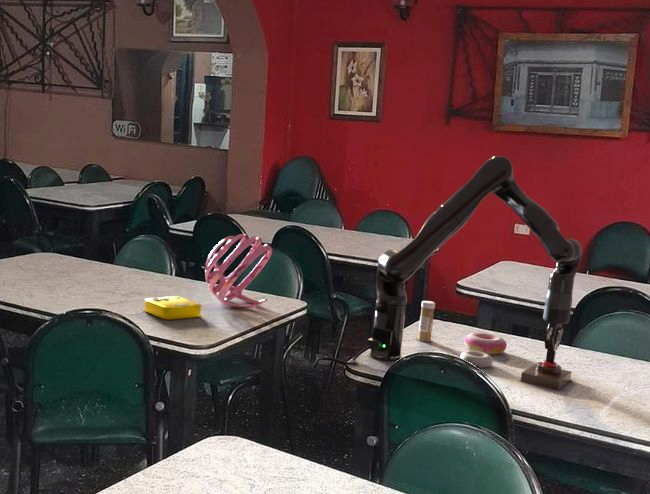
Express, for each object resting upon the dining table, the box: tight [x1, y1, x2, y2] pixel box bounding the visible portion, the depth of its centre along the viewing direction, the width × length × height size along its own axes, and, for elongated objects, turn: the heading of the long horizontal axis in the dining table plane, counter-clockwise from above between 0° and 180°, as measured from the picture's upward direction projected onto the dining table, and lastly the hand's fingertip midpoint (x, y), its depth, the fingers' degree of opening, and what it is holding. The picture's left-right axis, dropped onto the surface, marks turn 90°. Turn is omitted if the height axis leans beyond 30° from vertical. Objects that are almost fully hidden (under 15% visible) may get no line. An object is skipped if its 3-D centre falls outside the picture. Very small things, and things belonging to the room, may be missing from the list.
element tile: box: [144, 295, 202, 321], centre depth 296 cm, size 15×15×5 cm
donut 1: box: [464, 332, 507, 356], centre depth 284 cm, size 14×13×5 cm
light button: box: [542, 359, 558, 368], centre depth 255 cm, size 4×4×2 cm
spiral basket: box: [204, 233, 274, 309], centre depth 318 cm, size 28×28×27 cm
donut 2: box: [459, 350, 493, 369], centre depth 266 cm, size 10×4×10 cm
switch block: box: [520, 361, 572, 391], centre depth 254 cm, size 14×11×4 cm
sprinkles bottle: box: [417, 300, 436, 343], centre depth 290 cm, size 5×5×14 cm
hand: (549, 362), depth 255 cm, fingers closed
